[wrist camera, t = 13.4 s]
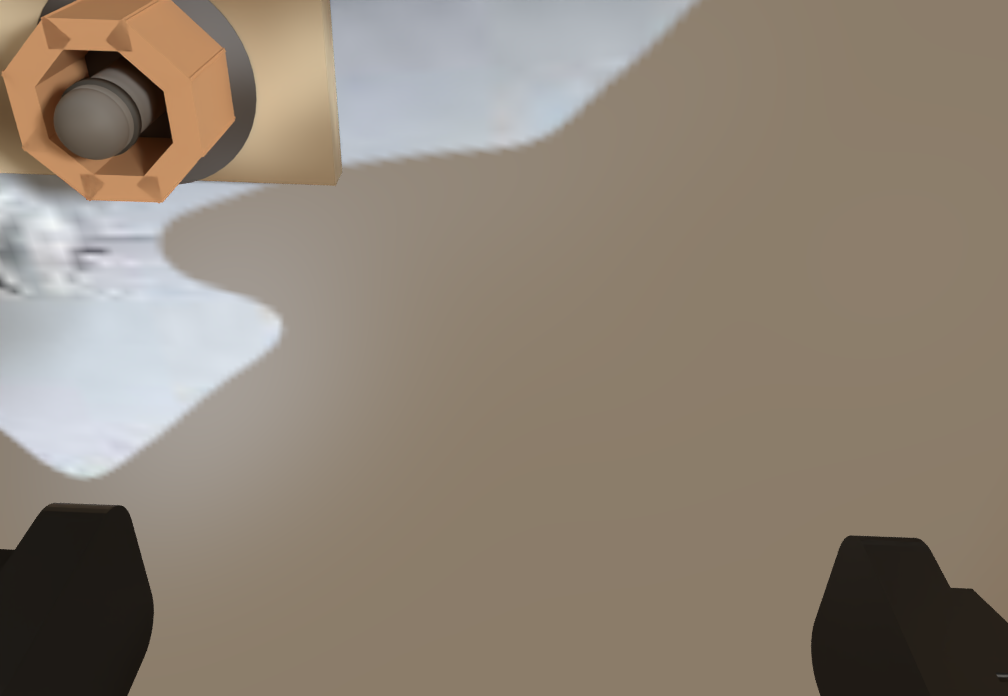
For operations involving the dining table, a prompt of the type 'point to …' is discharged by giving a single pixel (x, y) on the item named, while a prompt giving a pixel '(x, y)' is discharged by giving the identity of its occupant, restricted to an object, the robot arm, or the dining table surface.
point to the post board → (253, 82)
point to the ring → (157, 54)
